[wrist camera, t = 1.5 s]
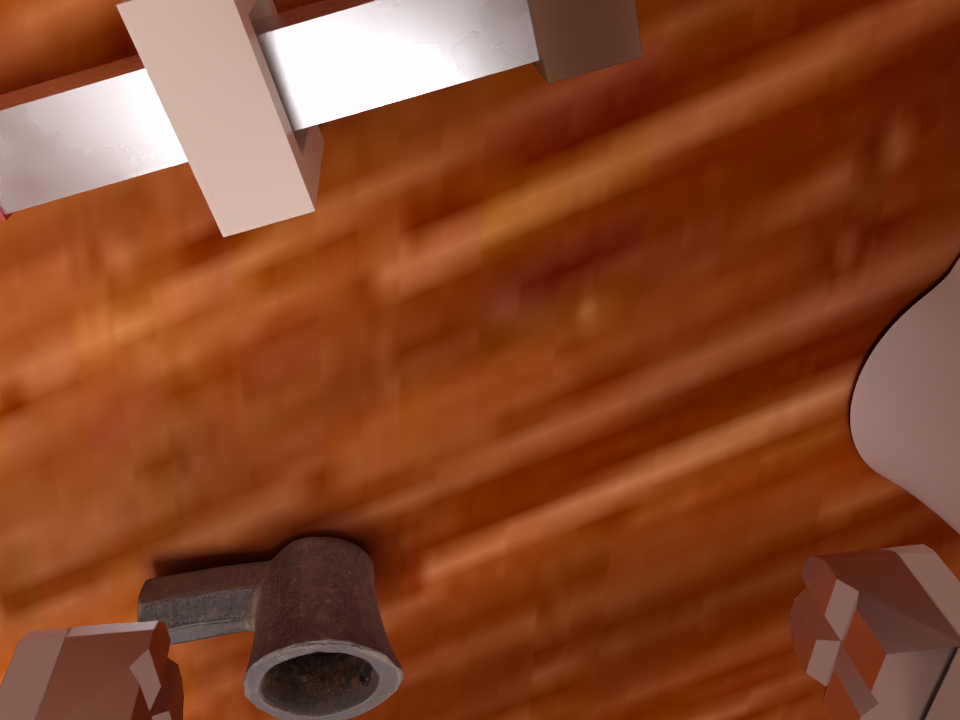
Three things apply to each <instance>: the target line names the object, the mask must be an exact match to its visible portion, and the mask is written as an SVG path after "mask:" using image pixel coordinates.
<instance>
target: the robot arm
mask: <svg viewBox="0 0 960 720" xmlns="http://www.w3.org/2000/svg"><path fill="white" fill-rule="evenodd" d="M850 426H851V433H852V437H853V441H854V443H855V446H856V448H857V450H858V452H859V454H860V455H861V457H862V458H863V460H864V461H865V462H866V463H867V464H868V465H869V466H870V467H871V468H872V469H873V470H874V471H876V472H877V473H879V474H880V475H882V476H883V477H885V478H887V479H889V480H890V481H892V482H894V483H895V484H897V485H899V486H900V487H902V488H903V489H905V490H906V491H908V492H909V493H910V494H912V495H913V496H915V497H916V498H917V499H919V500H920V501H921V502H923V503H924V504H925V505H926V506H928V507H929V508H930V509H931V510H933V511H934V512H935V513H936V514H937V515H939V516H940V517H941V518H942V519H943V520H944V521H946V522H947V523H948V524H949V525H950V526H951V527H952V528H953V529H954V530H956V531H957V532H958V533H959V534H960V258H959V260H958V261H957V263H956V264H955V266H954V267H953V269H952V270H951V272H950V273H949V274H948V275H947V276H946V277H945V279H944V280H943V281H942V282H940V283H939V284H938V285H937V286H936V287H935V288H934V289H933V290H931V291H930V292H929V293H928V294H927V295H925V296H924V297H923V298H922V299H920V300H919V301H918V302H917V303H916V304H914V305H913V306H912V307H911V308H910V309H909V310H908V311H907V312H906V313H904V314H903V315H902V316H901V317H900V318H899V319H898V320H897V321H896V322H895V324H894V325H893V326H892V327H891V328H890V329H889V330H888V331H887V333H886V334H885V335H884V336H883V338H882V339H881V340H880V341H879V343H878V344H877V346H876V347H875V349H874V350H873V352H872V353H871V355H870V357H869V358H868V360H867V362H866V364H865V365H864V367H863V369H862V372H861V374H860V376H859V378H858V381H857V384H856V387H855V390H854V393H853V398H852V403H851V410H850ZM801 577H802V579H803V580H804V582H805V584H806V585H807V587H808V588H807V589H806V590H805V591H804V592H803V593H802V594H801V595H800V596H798V597H797V598H796V599H795V600H794V603H793V607H792V611H791V615H790V627H791V638H792V642H793V645H794V648H795V651H796V654H797V656H798V658H799V660H800V662H801V664H802V666H803V668H804V670H805V672H806V673H807V674H809V675H810V676H812V677H813V678H814V679H816V680H817V681H819V682H820V683H822V684H823V685H824V686H825V691H824V696H823V701H822V703H823V705H824V707H825V709H826V711H827V712H828V714H829V716H830V718H831V720H960V582H959V581H958V580H957V578H956V577H955V576H954V575H953V573H952V572H951V571H950V570H949V569H948V567H947V566H946V565H945V564H944V562H943V561H942V560H941V559H940V558H939V556H938V555H937V554H936V553H935V552H934V551H933V550H932V549H930V548H929V547H927V546H925V545H924V544H920V545H911V546H901V547H891V548H885V549H882V548H877V549H868V550H859V551H850V552H841V553H832V554H823V555H814V556H812V557H811V558H810V559H809V560H808V561H807V562H806V563H805V566H804V569H803V573H802V576H801ZM170 641H171V639H170V636H169V633H168V630H167V627H166V624H165V622H163V621H148V622H135V623H121V624H107V625H94V626H80V627H72V628H60V629H48V630H35V631H28V633H27V634H26V635H25V636H24V637H23V638H22V640H21V641H20V642H19V643H18V645H17V647H16V649H15V652H14V654H13V657H12V659H11V662H10V664H9V666H8V669H7V671H6V674H5V676H4V679H3V681H2V683H1V686H0V720H183V702H184V694H183V685H182V677H181V674H180V670H179V666H178V664H176V663H175V662H173V661H172V660H170V659H169V658H167V656H168V651H169V646H170Z"/></svg>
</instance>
